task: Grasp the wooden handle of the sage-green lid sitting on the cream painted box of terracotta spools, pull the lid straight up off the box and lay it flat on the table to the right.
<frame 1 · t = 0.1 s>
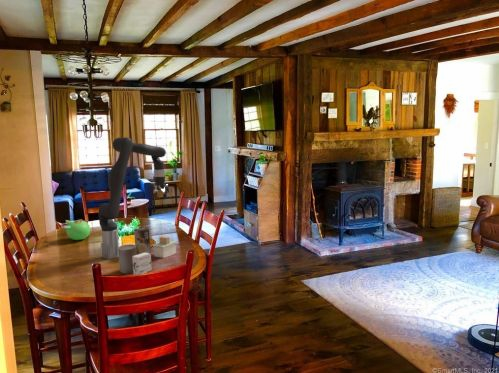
hand: (160, 198, 279), 29 cm above the table, fingers open, 8 cm apart
cream box: (165, 254, 247), on the table
ink box: (142, 276, 211), on the table
lid: (164, 245, 246), point 6 cm above the table, touching cream box
green round pot: (78, 239, 286), on the table
coffee box: (143, 254, 249), on the table
pillar candle: (128, 270, 220), on the table
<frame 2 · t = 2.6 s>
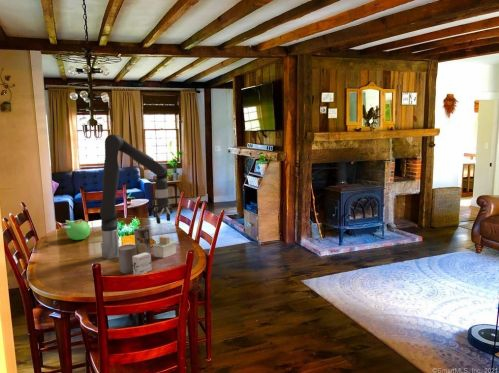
hand: (163, 222, 244), 21 cm above the table, fingers open, 8 cm apart
nothing on the table moved.
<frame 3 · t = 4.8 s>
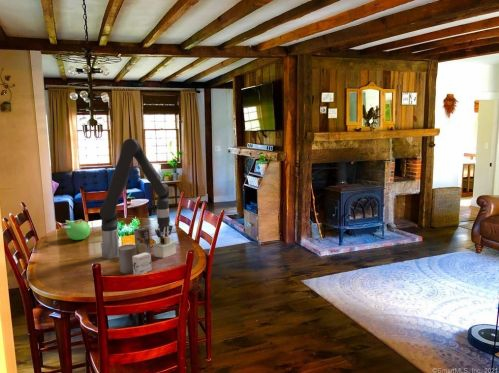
hand: (164, 242, 246), 7 cm above the table, fingers closed on lid, 2 cm apart
lid: (164, 245, 246), point 6 cm above the table, touching gripper
everything else where it was.
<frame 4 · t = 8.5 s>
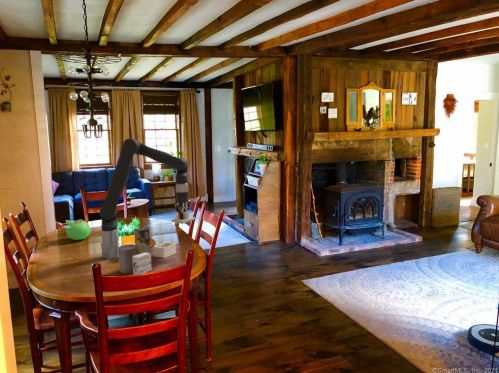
hand: (183, 218, 244), 23 cm above the table, fingers closed on lid, 2 cm apart
lid: (183, 220, 244), point 21 cm above the table, touching gripper
everything else where it was.
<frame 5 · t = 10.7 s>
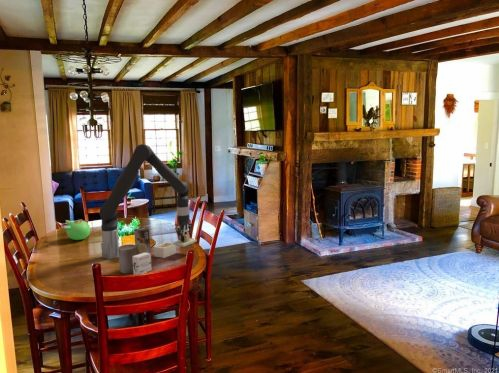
hand: (184, 240, 246), 8 cm above the table, fingers closed on lid, 2 cm apart
lid: (184, 242, 247), point 7 cm above the table, touching gripper
everything else where it was.
when the fingers open (4 cm above the table, at t = 12.5 s): lid drops 2 cm, point 1 cm above the table.
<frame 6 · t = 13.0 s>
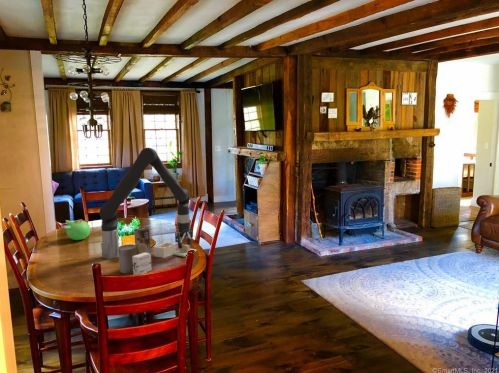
hand: (184, 246, 247), 5 cm above the table, fingers open, 8 cm apart
lid: (185, 252, 247), point 1 cm above the table
everything else where it was.
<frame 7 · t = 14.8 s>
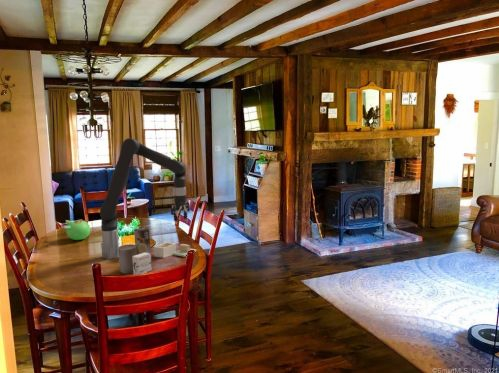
hand: (180, 220, 246), 21 cm above the table, fingers open, 8 cm apart
nothing on the table moved.
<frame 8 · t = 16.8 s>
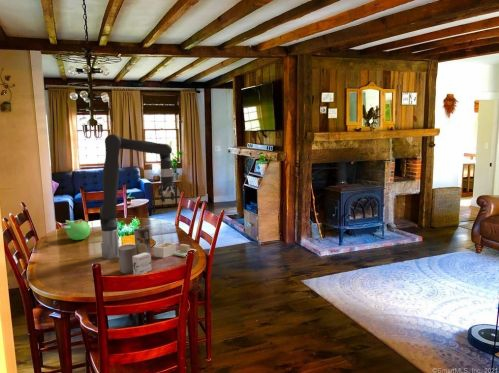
hand: (168, 200, 253), 32 cm above the table, fingers open, 8 cm apart
nothing on the table moved.
at the end: lid inside the target area (0.1 cm from its centre), point 0.6 cm above the table; lid tilted 0°; lid touching table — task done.
